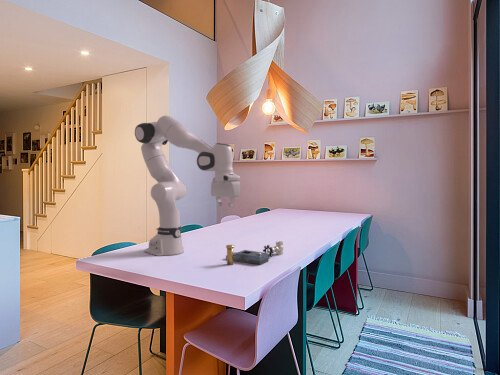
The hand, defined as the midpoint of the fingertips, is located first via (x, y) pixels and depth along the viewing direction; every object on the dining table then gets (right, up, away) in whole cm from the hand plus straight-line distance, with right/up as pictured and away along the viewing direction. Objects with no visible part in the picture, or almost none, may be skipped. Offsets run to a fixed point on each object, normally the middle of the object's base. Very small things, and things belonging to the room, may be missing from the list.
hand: (225, 206), depth 161 cm
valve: (+25, -27, +16) cm, 40 cm away
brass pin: (+2, -28, 0) cm, 28 cm away
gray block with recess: (+10, -27, +7) cm, 30 cm away
